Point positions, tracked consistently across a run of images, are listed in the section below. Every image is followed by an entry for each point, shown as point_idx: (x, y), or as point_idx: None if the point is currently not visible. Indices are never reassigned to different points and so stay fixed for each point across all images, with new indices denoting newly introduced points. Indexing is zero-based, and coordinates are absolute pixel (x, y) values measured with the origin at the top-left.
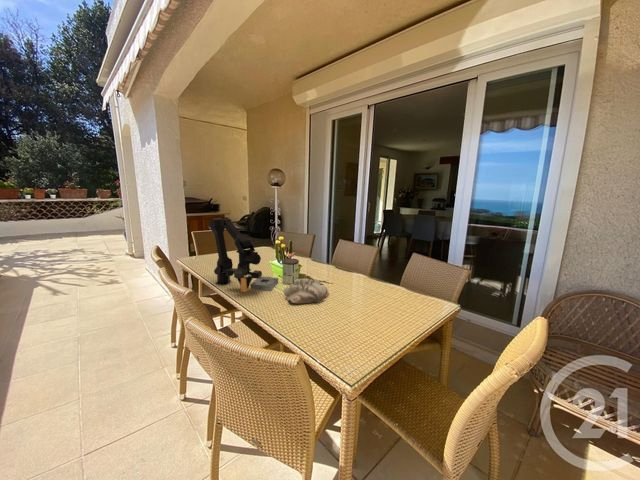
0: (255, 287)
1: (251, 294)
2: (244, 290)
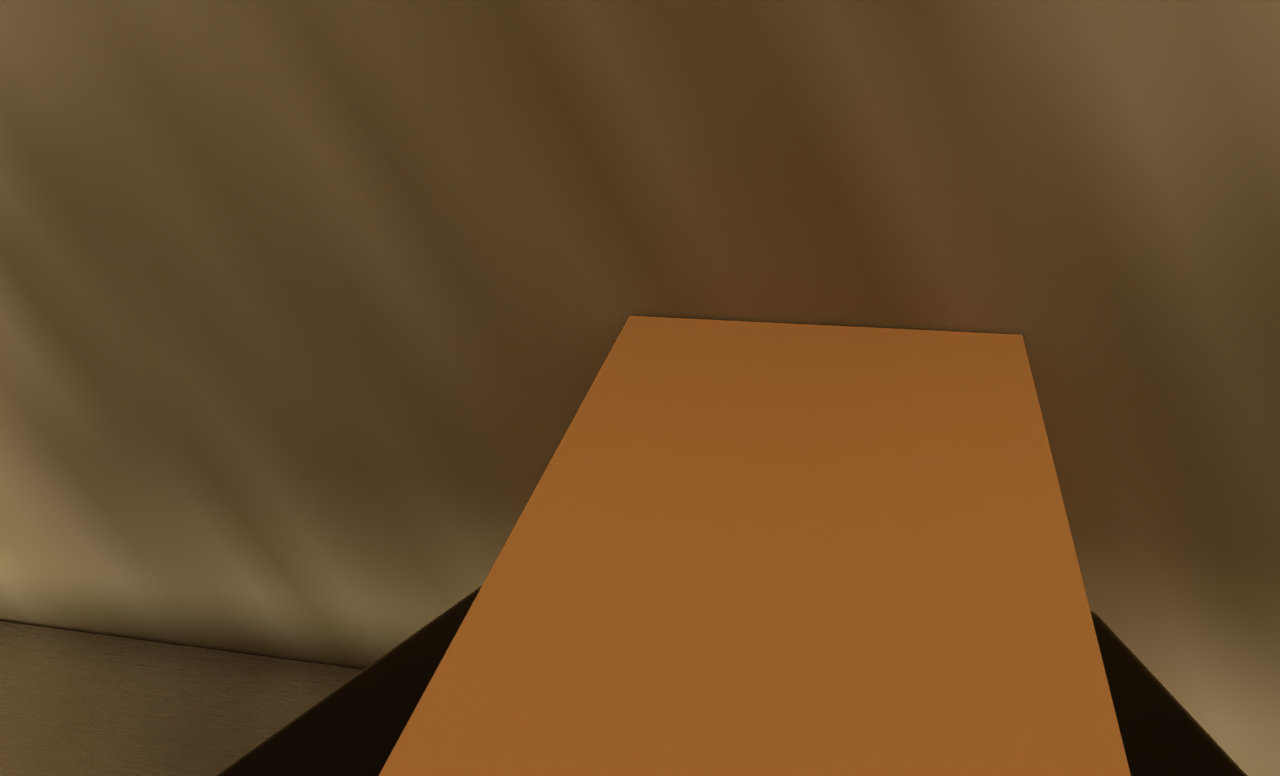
0: None
1: (119, 22)
2: (740, 359)
